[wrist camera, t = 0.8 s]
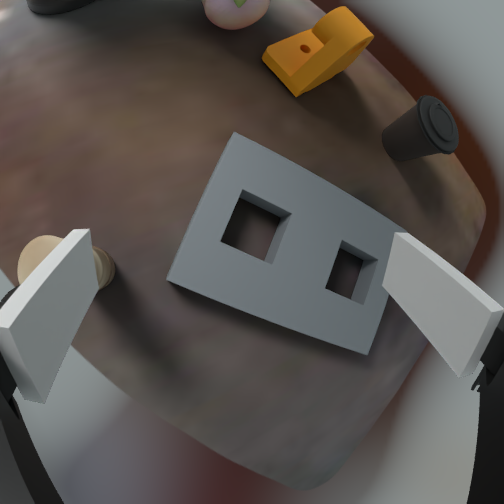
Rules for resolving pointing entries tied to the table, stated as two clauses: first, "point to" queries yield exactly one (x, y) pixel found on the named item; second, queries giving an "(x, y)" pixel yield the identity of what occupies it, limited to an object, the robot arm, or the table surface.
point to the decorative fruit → (234, 12)
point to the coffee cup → (421, 131)
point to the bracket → (318, 51)
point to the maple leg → (45, 245)
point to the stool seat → (288, 248)
